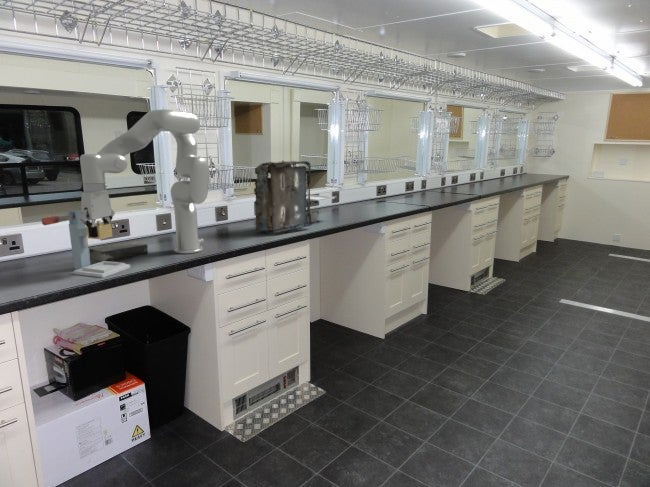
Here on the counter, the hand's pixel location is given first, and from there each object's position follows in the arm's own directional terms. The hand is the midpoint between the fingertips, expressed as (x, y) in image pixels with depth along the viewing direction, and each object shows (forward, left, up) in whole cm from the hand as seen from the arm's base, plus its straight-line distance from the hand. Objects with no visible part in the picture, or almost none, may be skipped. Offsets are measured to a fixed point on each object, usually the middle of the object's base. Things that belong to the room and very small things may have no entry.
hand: (100, 235), depth 171 cm
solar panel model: (-128, +35, -14) cm, 134 cm away
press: (0, -4, -14) cm, 15 cm away
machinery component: (-92, +31, -14) cm, 98 cm away
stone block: (-21, -12, -15) cm, 28 cm away
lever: (+6, -11, +6) cm, 14 cm away
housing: (0, 0, -1) cm, 1 cm away
